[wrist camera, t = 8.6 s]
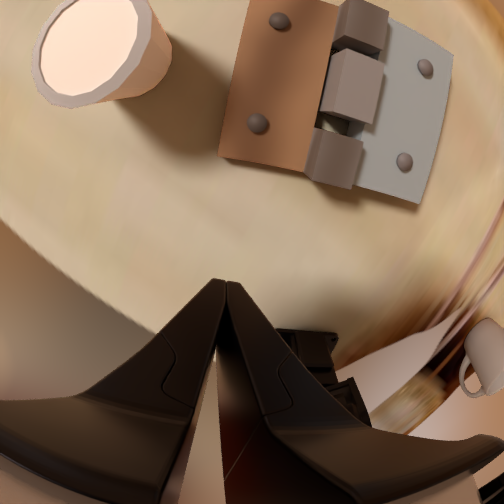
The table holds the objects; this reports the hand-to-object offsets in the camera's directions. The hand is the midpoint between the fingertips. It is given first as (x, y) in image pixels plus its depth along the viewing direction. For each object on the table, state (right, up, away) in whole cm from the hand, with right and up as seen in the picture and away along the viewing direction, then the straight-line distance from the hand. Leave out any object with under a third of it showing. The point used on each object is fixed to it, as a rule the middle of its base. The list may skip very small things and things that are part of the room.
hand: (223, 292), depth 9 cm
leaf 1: (+4, +12, +7) cm, 15 cm away
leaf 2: (+10, +12, +8) cm, 17 cm away
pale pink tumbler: (-7, +14, +6) cm, 17 cm away
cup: (+31, -11, +21) cm, 39 cm away
